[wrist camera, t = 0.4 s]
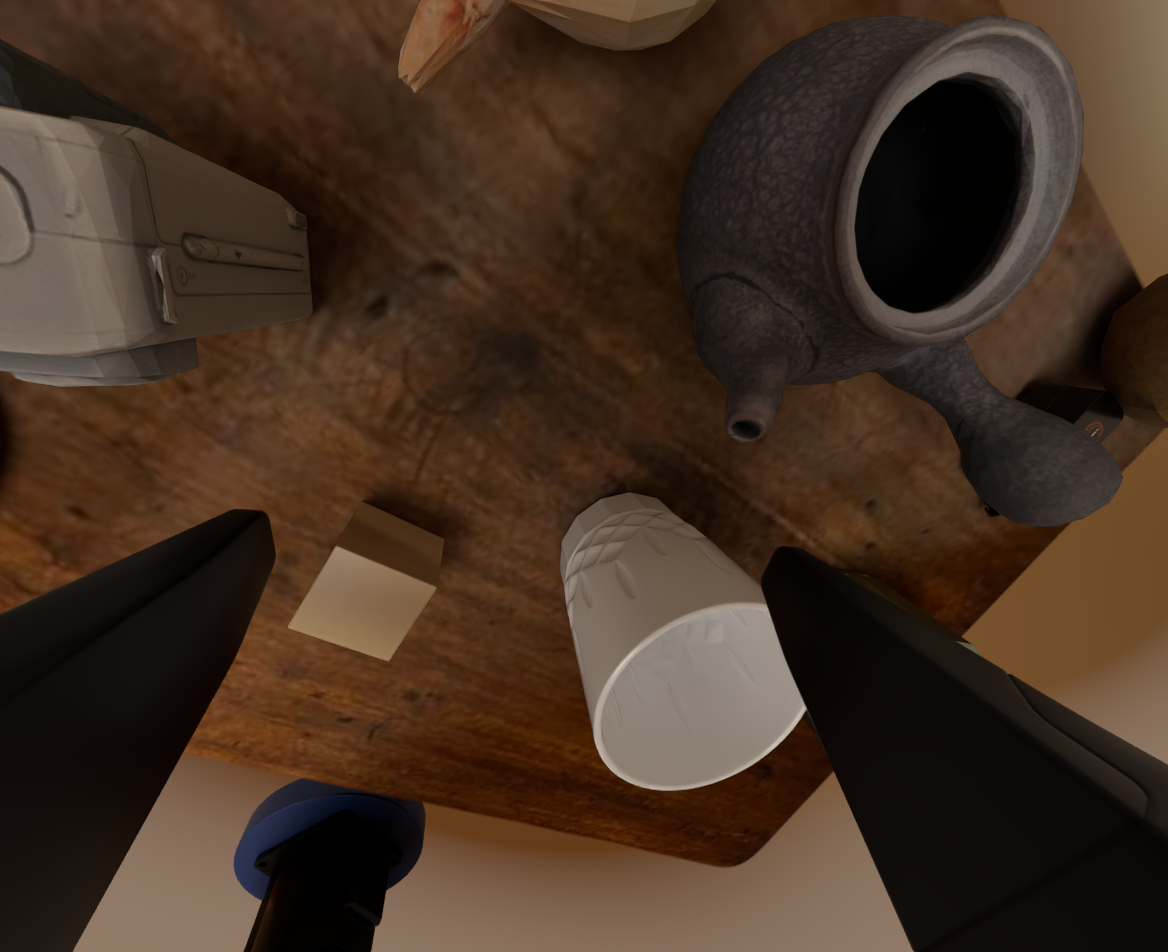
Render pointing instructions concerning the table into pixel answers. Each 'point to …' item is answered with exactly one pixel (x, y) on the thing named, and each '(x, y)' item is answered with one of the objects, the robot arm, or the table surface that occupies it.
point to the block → (372, 584)
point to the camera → (126, 240)
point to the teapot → (893, 235)
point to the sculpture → (568, 3)
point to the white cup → (671, 648)
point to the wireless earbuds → (1075, 411)
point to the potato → (1139, 355)
